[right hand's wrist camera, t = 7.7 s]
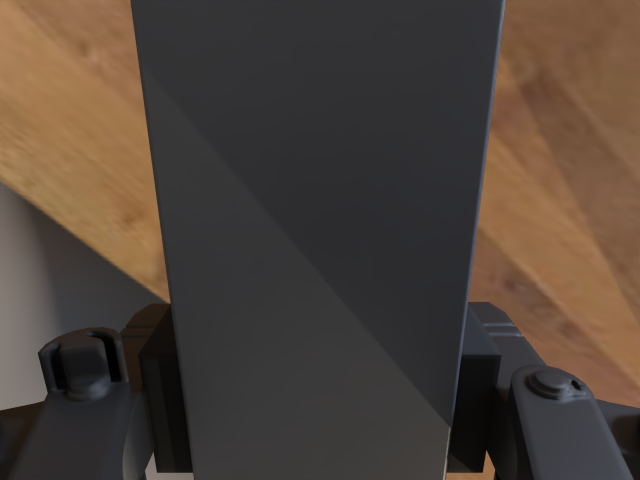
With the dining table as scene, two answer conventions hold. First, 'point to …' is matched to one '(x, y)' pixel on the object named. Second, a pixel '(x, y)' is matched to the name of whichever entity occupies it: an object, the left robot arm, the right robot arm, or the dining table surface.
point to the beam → (318, 224)
